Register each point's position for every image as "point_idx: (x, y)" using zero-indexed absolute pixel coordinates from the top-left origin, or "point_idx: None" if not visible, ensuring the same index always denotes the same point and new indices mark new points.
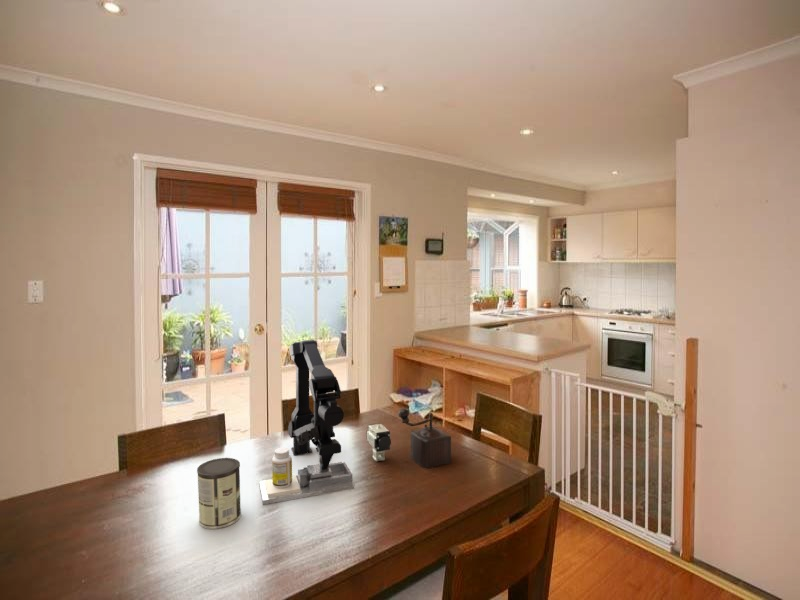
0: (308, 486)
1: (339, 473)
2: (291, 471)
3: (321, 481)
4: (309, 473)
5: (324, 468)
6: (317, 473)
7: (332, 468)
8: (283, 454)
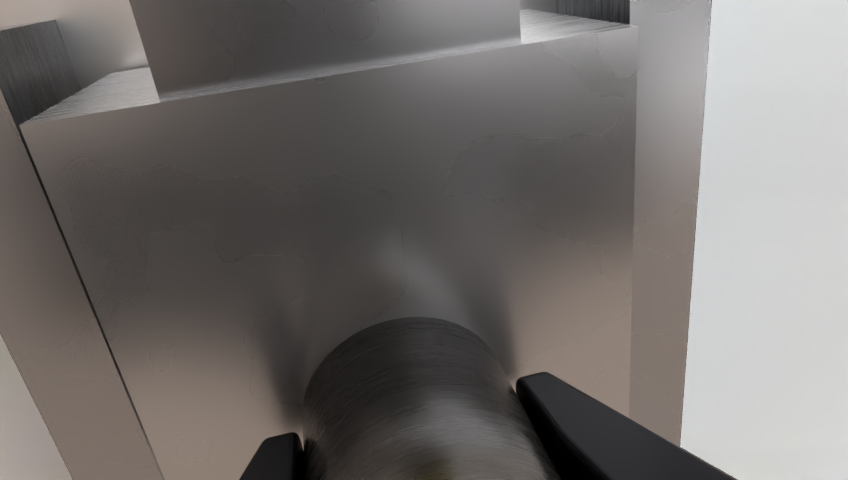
0: None
1: None
2: None
3: (3, 308)
4: (179, 73)
5: (269, 452)
6: (107, 285)
7: None
8: None
